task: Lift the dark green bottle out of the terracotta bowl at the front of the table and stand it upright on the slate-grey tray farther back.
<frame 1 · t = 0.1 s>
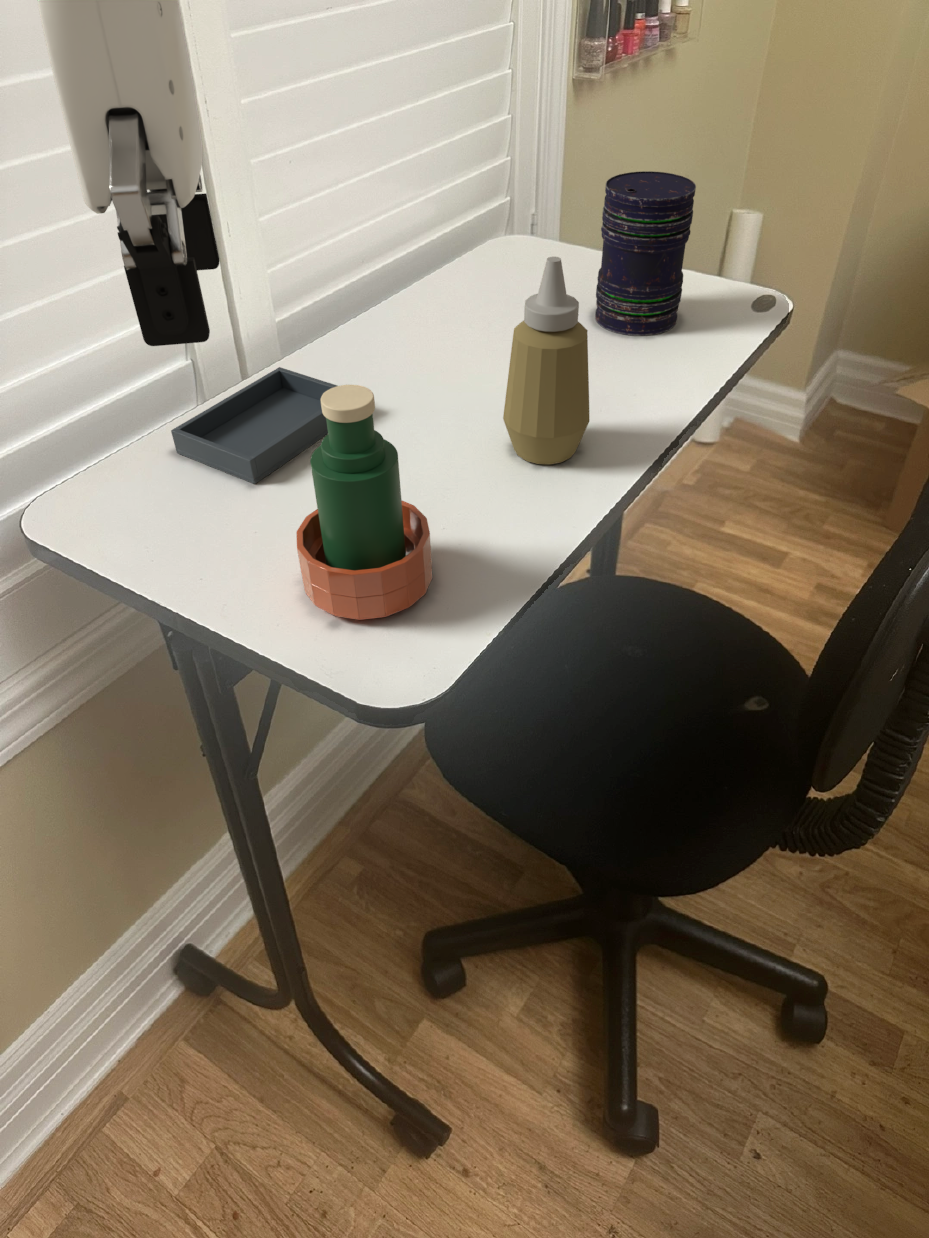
hand: (186, 302, 49), 26 cm above the table, tool pointing down, fingers open, 9 cm apart
bowl: (368, 582, 72), on the table
squeeze bottle: (544, 451, 86), on the table
oil drum: (635, 320, 108), on the table
tray: (269, 432, 89), on the table
bottle: (368, 577, 71), point 1 cm above the table, touching bowl
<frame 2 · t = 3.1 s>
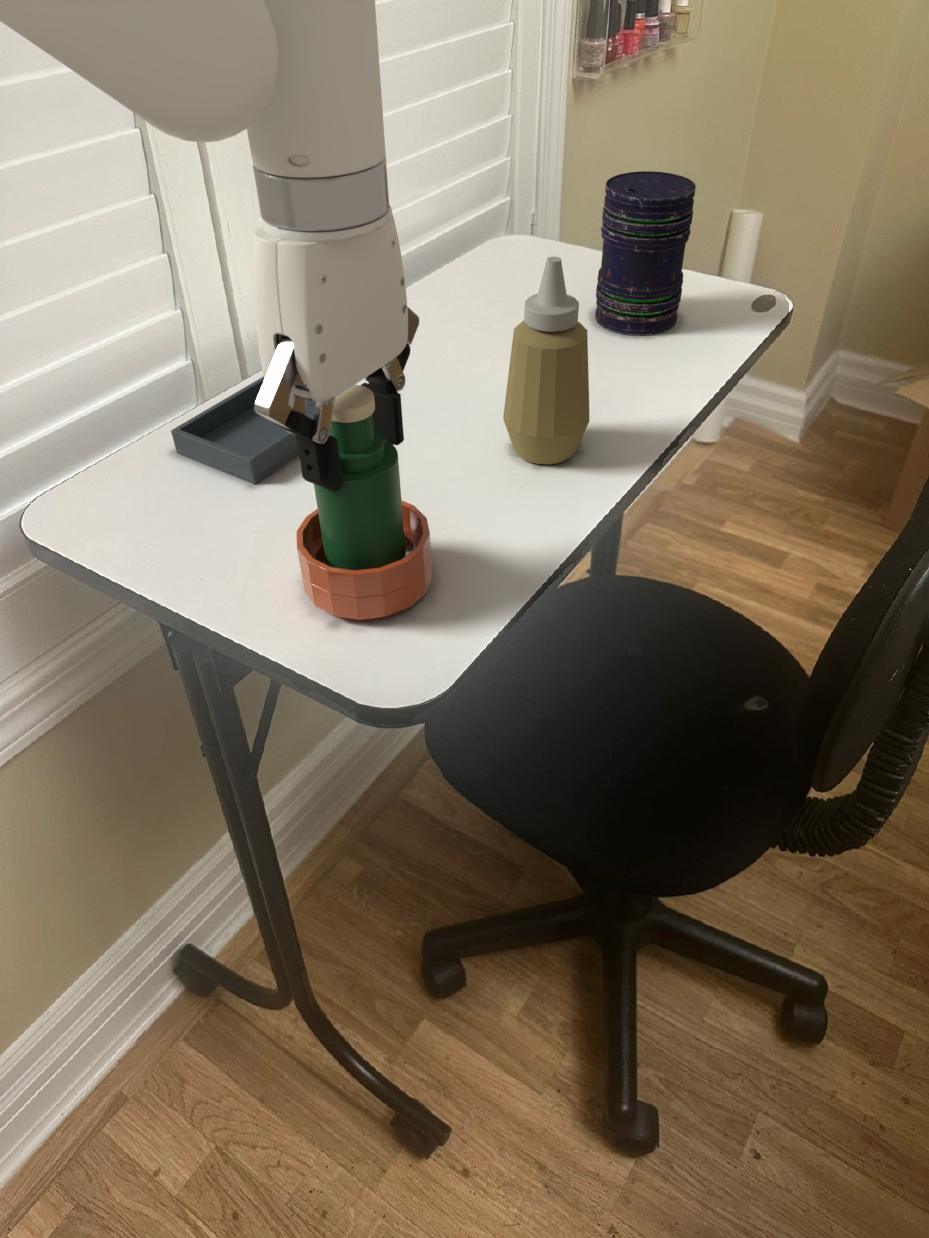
hand: (354, 459, 64), 11 cm above the table, tool pointing down, fingers closed on bottle, 6 cm apart
bottle: (368, 577, 71), point 1 cm above the table, touching bowl, gripper
everything else where it was.
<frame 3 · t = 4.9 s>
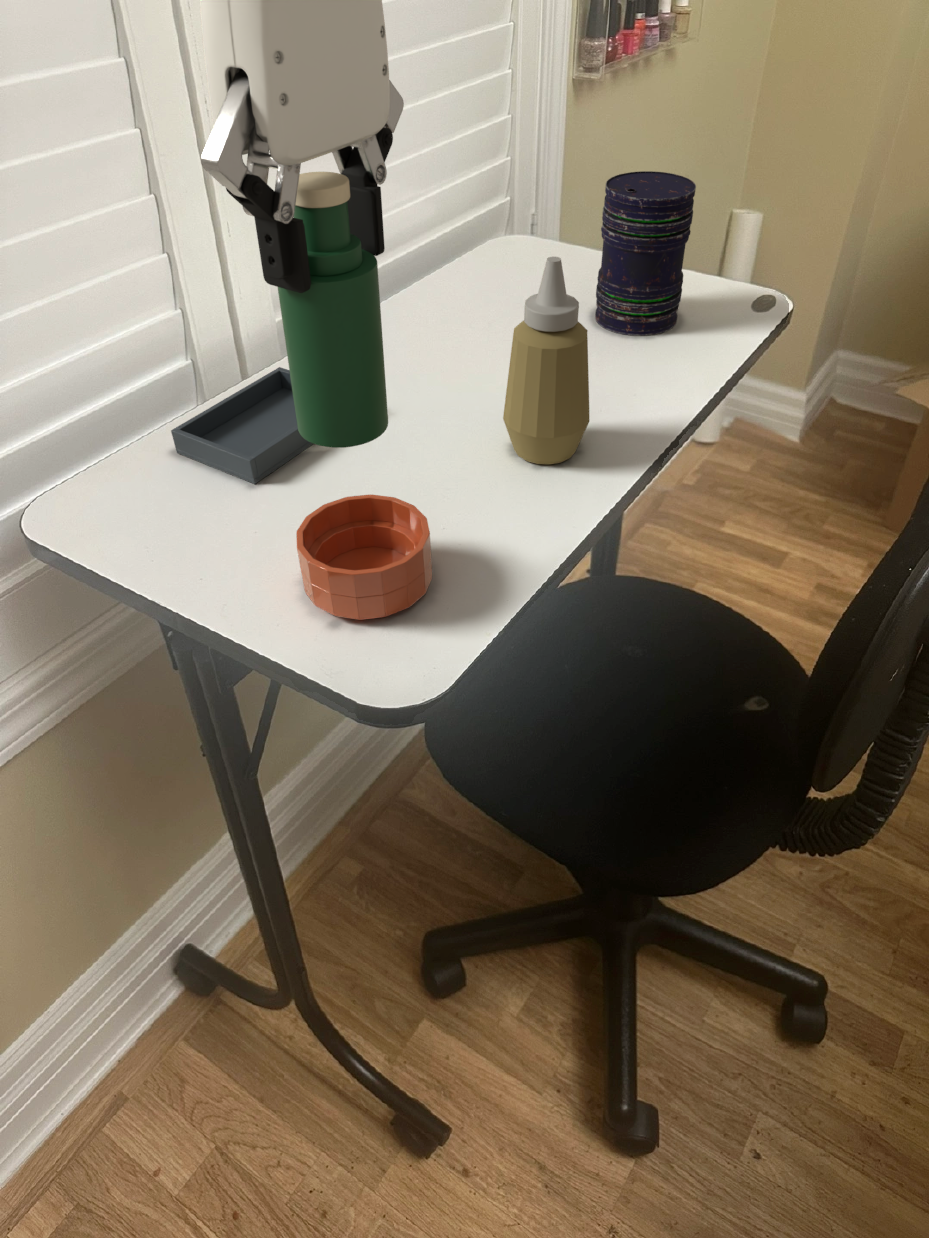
hand: (326, 265, 55), 25 cm above the table, tool pointing down, fingers closed on bottle, 6 cm apart
bottle: (343, 424, 62), point 14 cm above the table, touching gripper
everything else where it was.
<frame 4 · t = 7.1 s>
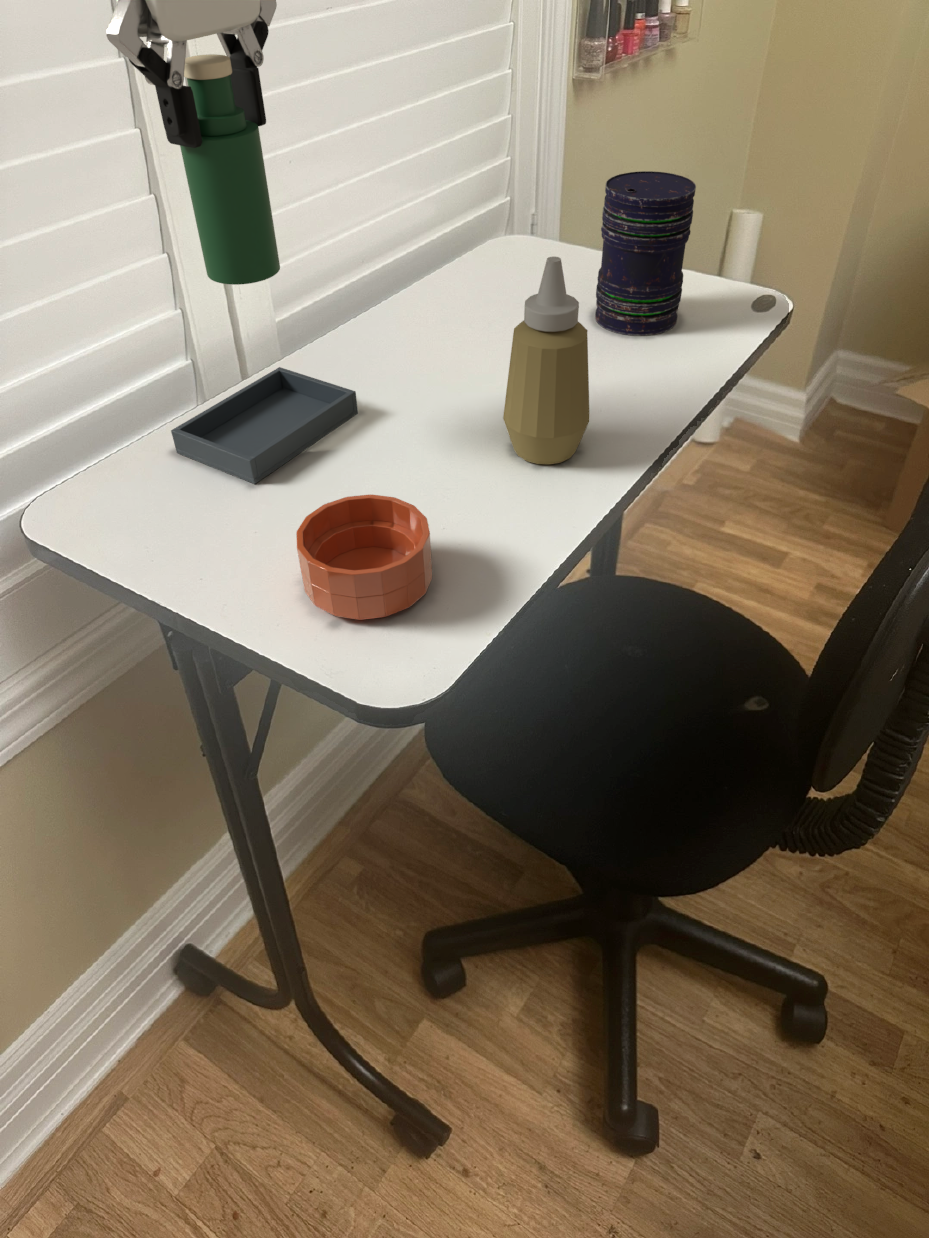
hand: (218, 131, 70), 27 cm above the table, tool pointing down, fingers closed on bottle, 6 cm apart
bottle: (243, 270, 78), point 16 cm above the table, touching gripper
everything else where it was.
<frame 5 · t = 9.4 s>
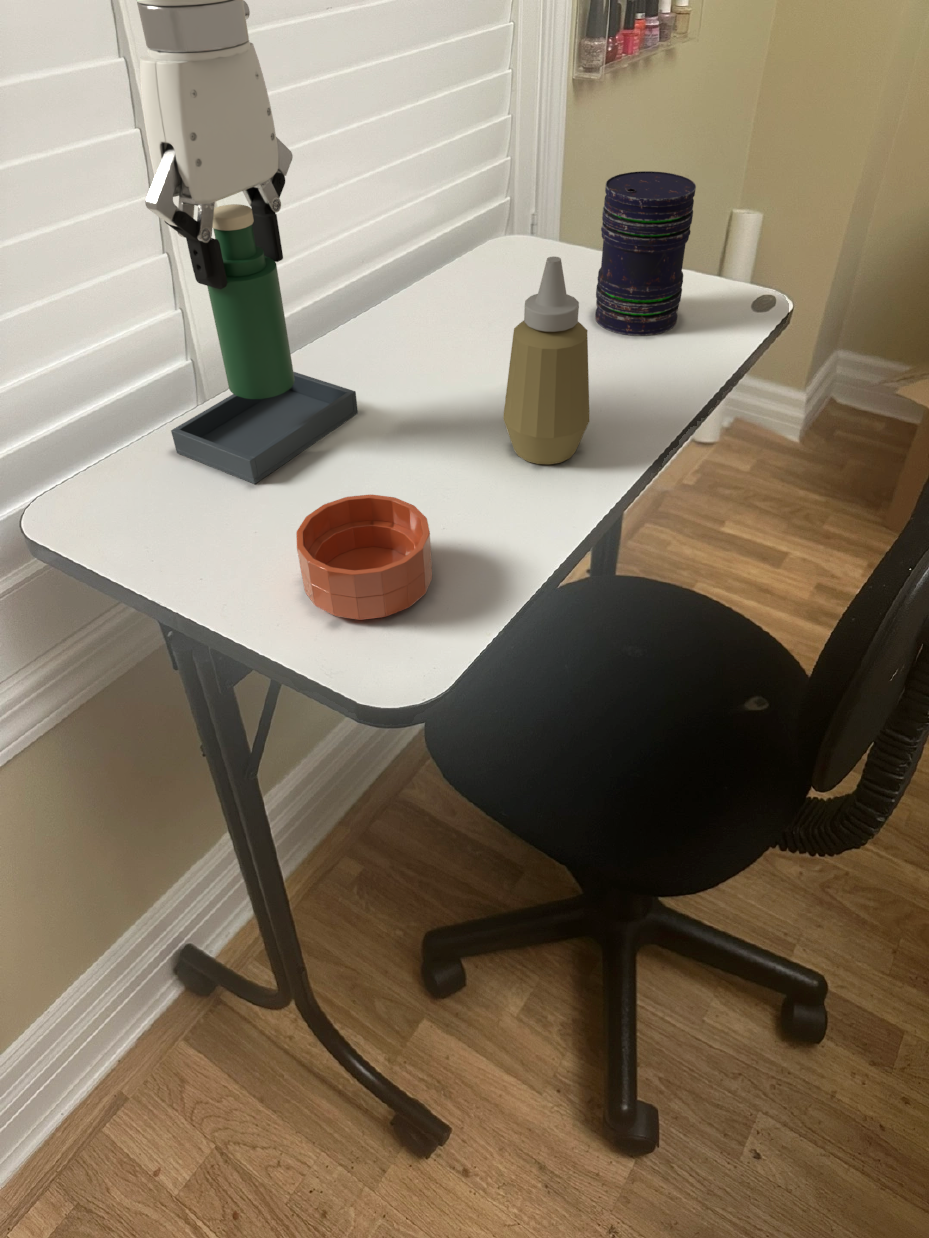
hand: (240, 269, 79), 16 cm above the table, tool pointing down, fingers closed on bottle, 6 cm apart
bottle: (261, 383, 86), point 5 cm above the table, touching gripper
everything else where it was.
when the fingers open (11 cm above the table, at t = 11.1 s): bottle stays where it is, resting on tray.
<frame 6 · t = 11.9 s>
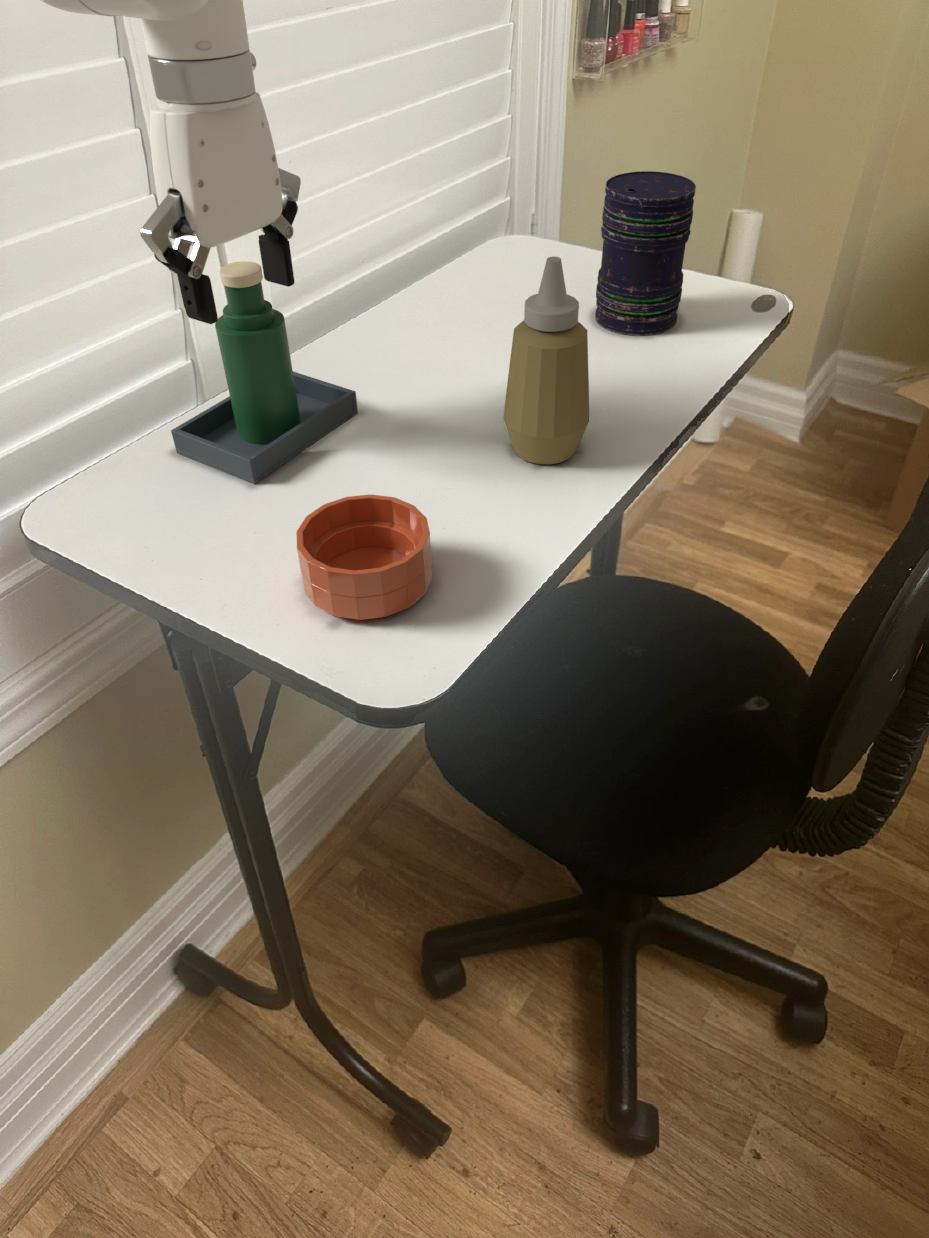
hand: (242, 300, 80), 13 cm above the table, tool pointing down, fingers open, 9 cm apart
bottle: (269, 428, 89), resting on tray
everything else where it was.
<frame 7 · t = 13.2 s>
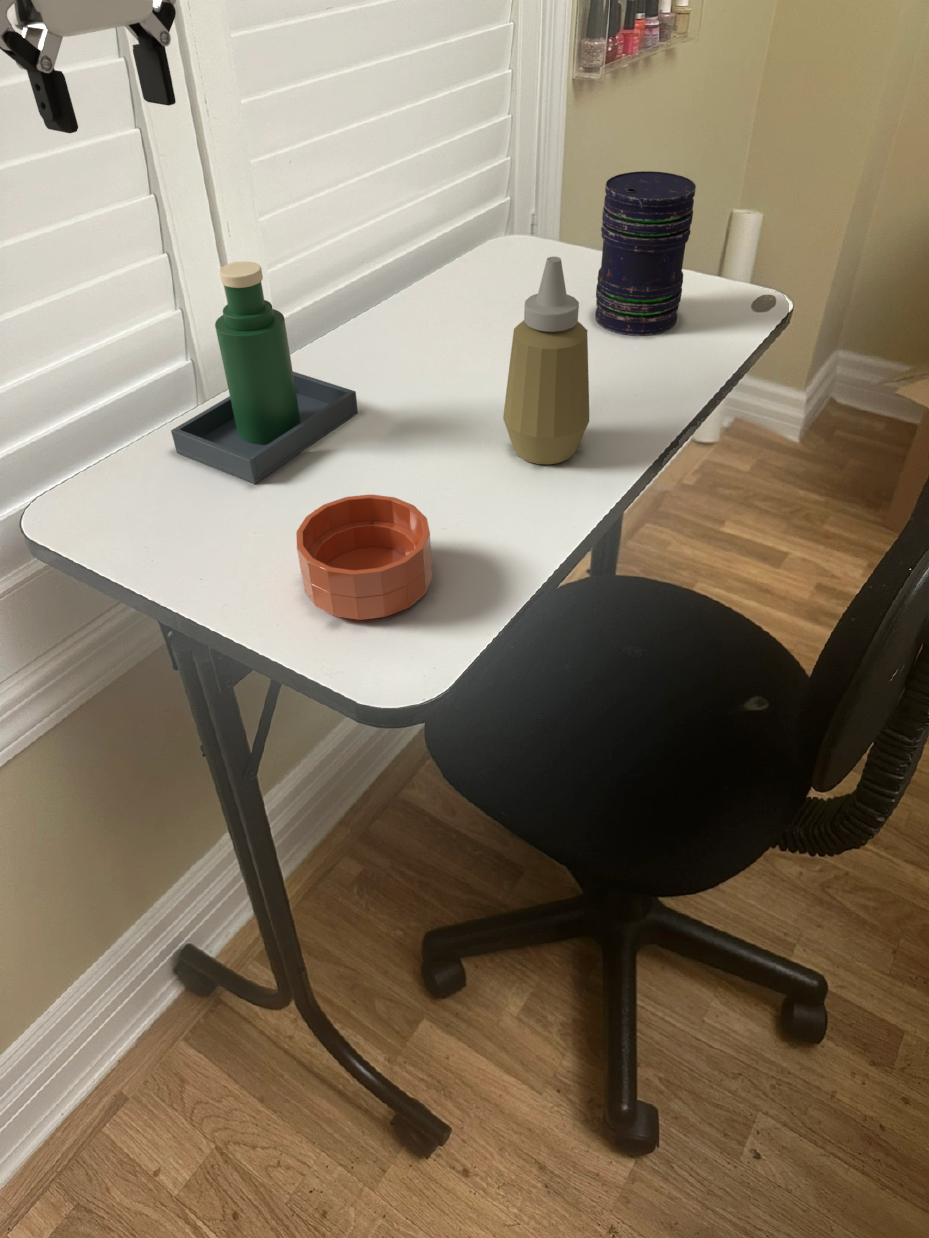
hand: (113, 116, 71), 28 cm above the table, tool pointing down, fingers open, 9 cm apart
nothing on the table moved.
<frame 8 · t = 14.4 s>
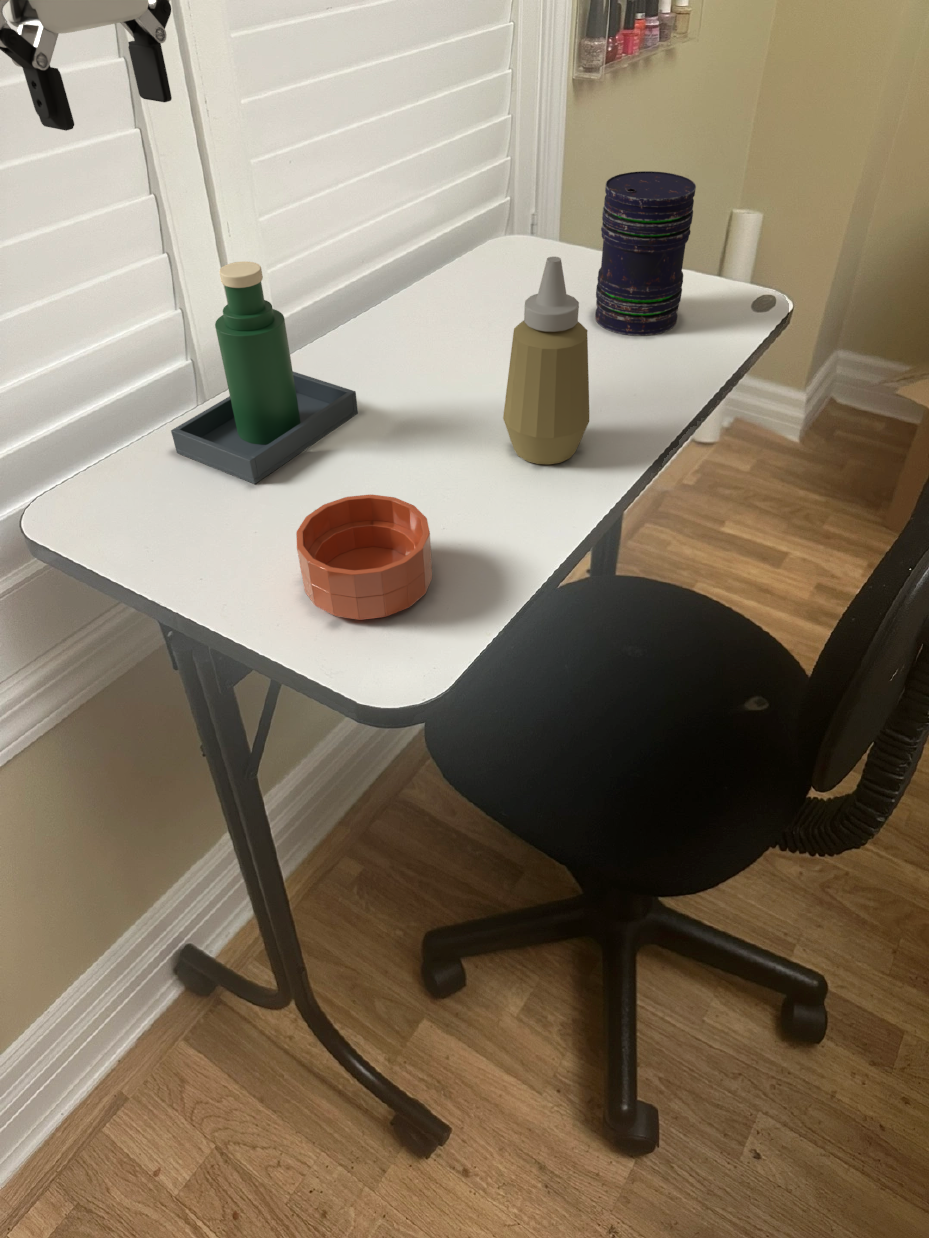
hand: (109, 113, 71), 28 cm above the table, tool pointing down, fingers open, 9 cm apart
nothing on the table moved.
at the end: bottle inside the target area in the tray (0.0 cm from its centre), point 0.5 cm above the tray's base; bottle tilted 0°; bottle touching tray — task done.
